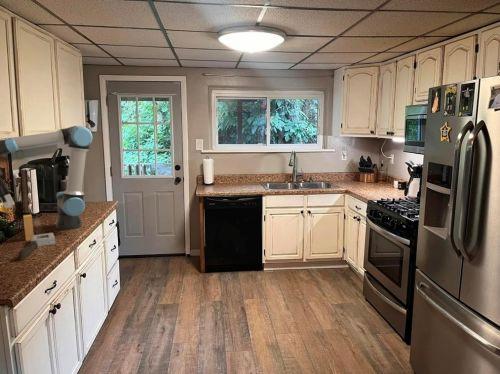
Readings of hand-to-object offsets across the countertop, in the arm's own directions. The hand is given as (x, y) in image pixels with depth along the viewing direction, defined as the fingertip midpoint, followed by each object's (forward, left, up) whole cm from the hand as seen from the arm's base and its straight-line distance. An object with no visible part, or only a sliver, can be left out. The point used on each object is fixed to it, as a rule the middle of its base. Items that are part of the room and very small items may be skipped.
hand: (10, 206), depth 205 cm
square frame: (-14, +7, -21) cm, 26 cm away
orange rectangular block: (-8, -4, -21) cm, 23 cm away
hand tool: (-6, +24, -21) cm, 33 cm away
